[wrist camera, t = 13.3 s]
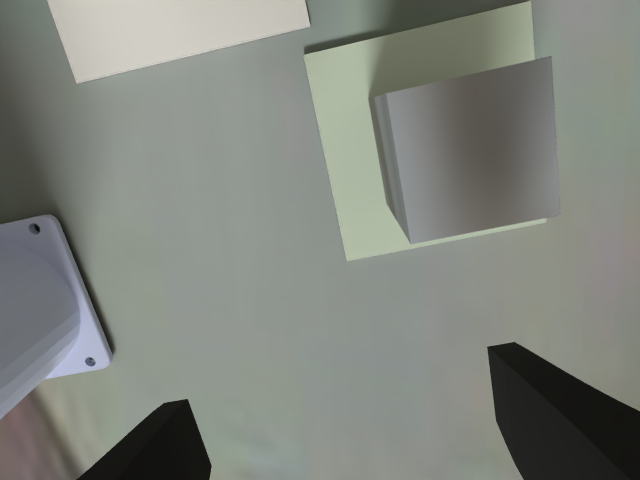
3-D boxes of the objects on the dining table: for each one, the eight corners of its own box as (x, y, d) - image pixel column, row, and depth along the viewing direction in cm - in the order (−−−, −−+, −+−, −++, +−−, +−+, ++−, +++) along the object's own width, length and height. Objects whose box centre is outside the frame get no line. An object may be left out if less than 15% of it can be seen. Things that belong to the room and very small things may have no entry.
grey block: (386, 203, 19) (411, 244, 13) (368, 99, 18) (386, 93, 12) (489, 182, 19) (560, 215, 13) (478, 74, 17) (551, 56, 12)
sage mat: (346, 259, 20) (346, 261, 20) (303, 56, 18) (303, 55, 17) (542, 220, 19) (546, 222, 19) (527, 2, 17) (531, 0, 16)
